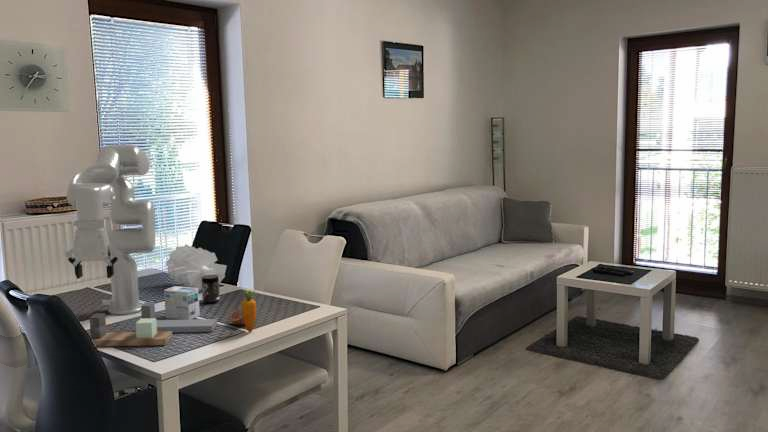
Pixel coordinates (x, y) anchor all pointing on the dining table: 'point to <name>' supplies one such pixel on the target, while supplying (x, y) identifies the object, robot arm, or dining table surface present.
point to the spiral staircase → (193, 266)
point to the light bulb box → (181, 303)
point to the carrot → (249, 311)
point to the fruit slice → (236, 317)
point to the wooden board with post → (122, 335)
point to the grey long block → (178, 322)
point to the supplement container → (210, 289)
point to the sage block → (146, 328)
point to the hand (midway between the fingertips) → (94, 277)
